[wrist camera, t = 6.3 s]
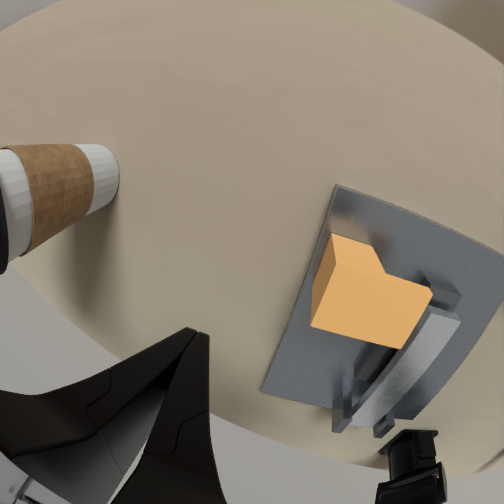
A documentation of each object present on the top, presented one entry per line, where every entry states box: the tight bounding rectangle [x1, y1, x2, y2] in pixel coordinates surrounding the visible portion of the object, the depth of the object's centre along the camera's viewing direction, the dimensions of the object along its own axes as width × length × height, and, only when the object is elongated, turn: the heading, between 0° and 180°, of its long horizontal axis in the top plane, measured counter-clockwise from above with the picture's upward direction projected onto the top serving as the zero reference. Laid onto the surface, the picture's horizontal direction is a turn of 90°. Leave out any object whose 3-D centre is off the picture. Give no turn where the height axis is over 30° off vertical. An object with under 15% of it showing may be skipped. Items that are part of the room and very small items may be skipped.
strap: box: [349, 305, 461, 428], centre depth 19 cm, size 14×3×1 cm, turn 166°
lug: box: [310, 233, 433, 349], centre depth 16 cm, size 4×6×5 cm, turn 77°
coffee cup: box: [0, 144, 119, 275], centre depth 15 cm, size 8×8×15 cm
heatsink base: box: [261, 184, 504, 438], centre depth 19 cm, size 20×18×5 cm
